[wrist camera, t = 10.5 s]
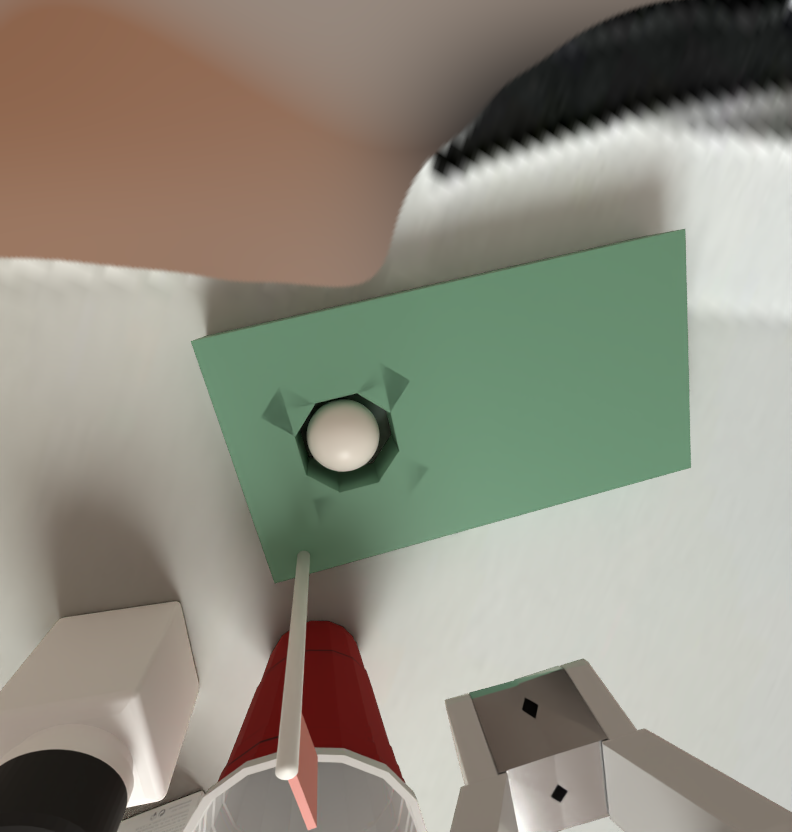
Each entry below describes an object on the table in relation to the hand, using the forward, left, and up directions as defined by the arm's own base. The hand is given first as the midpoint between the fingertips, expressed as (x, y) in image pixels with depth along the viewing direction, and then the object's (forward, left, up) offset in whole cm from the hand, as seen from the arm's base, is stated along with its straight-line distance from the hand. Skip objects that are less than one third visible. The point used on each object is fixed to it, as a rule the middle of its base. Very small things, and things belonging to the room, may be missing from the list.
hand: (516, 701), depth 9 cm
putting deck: (-4, -1, -19) cm, 20 cm away
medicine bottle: (+19, +10, -19) cm, 29 cm away
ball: (+3, -1, -17) cm, 17 cm away
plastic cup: (+9, +14, -19) cm, 25 cm away
